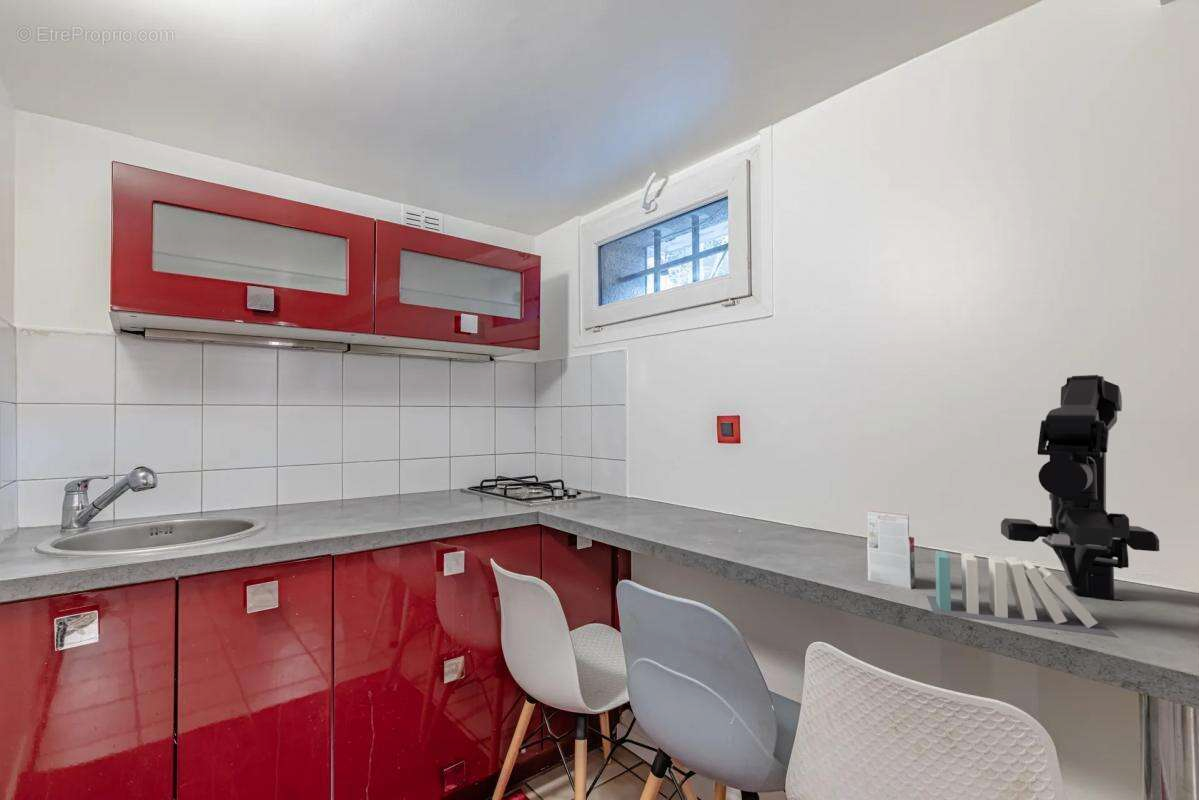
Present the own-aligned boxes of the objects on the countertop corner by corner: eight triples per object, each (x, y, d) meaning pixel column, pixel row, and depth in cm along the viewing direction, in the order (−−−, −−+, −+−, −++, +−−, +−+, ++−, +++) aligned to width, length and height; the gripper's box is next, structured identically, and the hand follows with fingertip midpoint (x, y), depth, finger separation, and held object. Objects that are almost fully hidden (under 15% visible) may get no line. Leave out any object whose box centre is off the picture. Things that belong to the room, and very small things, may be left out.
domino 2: (967, 613, 93) (966, 559, 93) (962, 603, 97) (961, 553, 97) (978, 614, 92) (977, 560, 92) (973, 605, 96) (972, 553, 97)
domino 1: (939, 609, 94) (938, 557, 95) (936, 600, 99) (935, 550, 99) (950, 610, 94) (949, 558, 94) (946, 602, 98) (945, 551, 98)
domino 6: (1088, 628, 86) (1042, 578, 88) (1076, 617, 90) (1033, 571, 93) (1098, 622, 85) (1051, 573, 88) (1086, 612, 90) (1042, 565, 92)
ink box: (872, 578, 113) (871, 508, 114) (916, 586, 108) (914, 512, 108) (867, 582, 111) (865, 510, 111) (911, 591, 105) (909, 515, 106)
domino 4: (1025, 620, 89) (1011, 564, 90) (1017, 610, 94) (1003, 557, 95) (1037, 619, 89) (1022, 563, 90) (1028, 610, 93) (1014, 556, 94)
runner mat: (926, 597, 102) (926, 595, 102) (1092, 617, 91) (1092, 614, 91) (933, 615, 92) (933, 613, 92) (1119, 640, 82) (1119, 637, 82)
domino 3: (996, 616, 91) (994, 562, 91) (989, 607, 95) (988, 555, 96) (1007, 618, 90) (1006, 563, 90) (1000, 608, 95) (999, 556, 95)
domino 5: (1056, 624, 88) (1024, 570, 89) (1046, 614, 92) (1016, 563, 94) (1067, 621, 87) (1035, 567, 89) (1057, 611, 91) (1027, 560, 93)
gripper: (1017, 494, 85) (1019, 594, 85) (1177, 501, 78) (1181, 612, 77) (999, 485, 96) (1001, 575, 95) (1139, 491, 88) (1142, 588, 87)
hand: (1075, 587), depth 88 cm, fingers closed
